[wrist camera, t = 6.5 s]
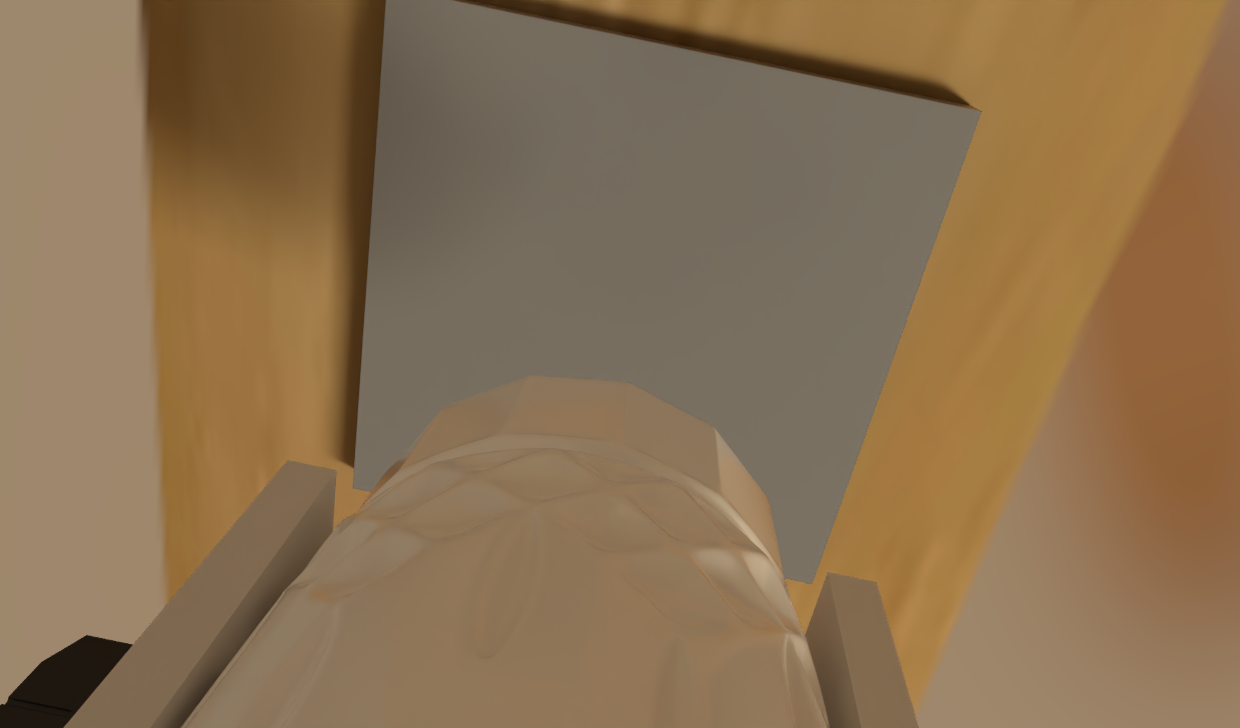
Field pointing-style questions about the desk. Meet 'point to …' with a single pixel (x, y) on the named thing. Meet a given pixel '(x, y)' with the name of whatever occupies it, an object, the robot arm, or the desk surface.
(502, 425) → the white cup
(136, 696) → the robot arm
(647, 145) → the coaster
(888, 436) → the desk surface
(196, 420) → the desk surface
